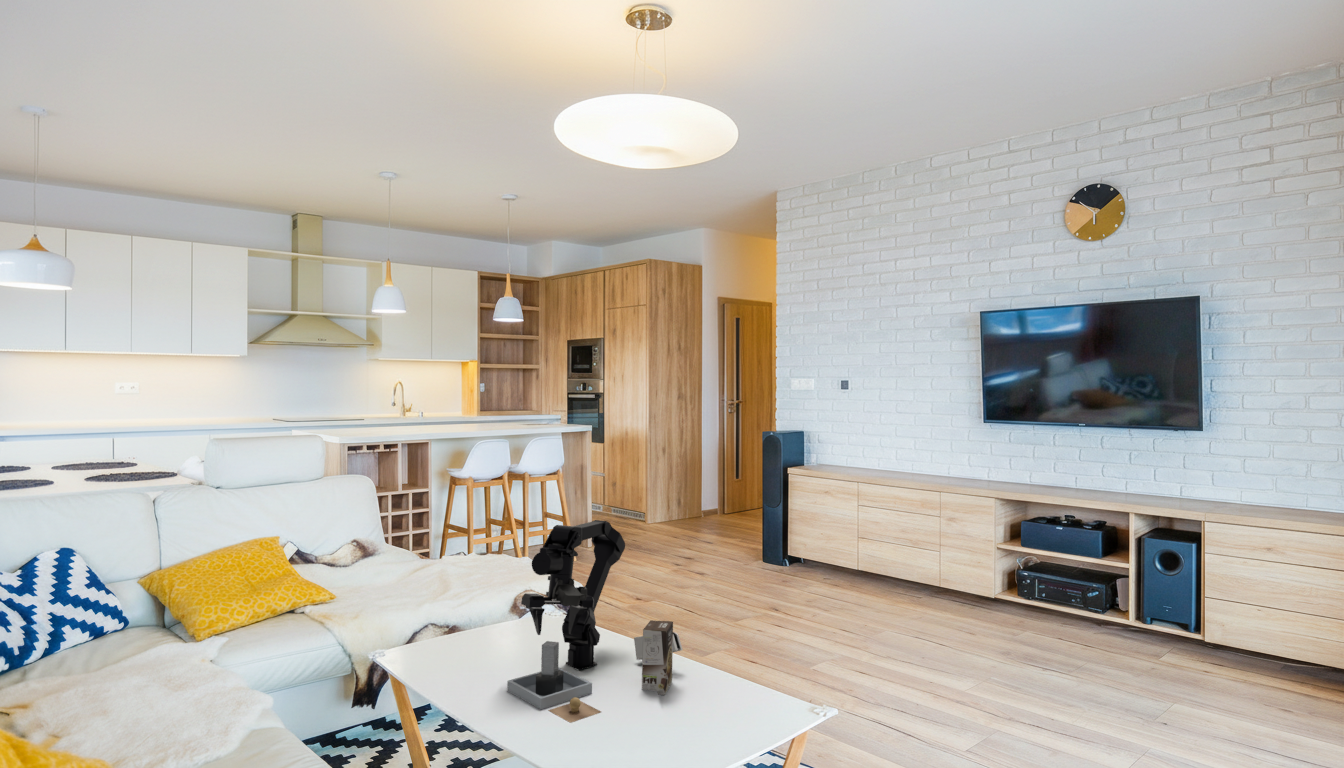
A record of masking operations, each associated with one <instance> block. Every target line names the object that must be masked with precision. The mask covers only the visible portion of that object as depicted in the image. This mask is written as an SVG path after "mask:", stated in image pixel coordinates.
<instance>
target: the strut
mask: <svg viewBox="0 0 1344 768" xmlns="http://www.w3.org/2000/svg"><path fill="white" fill-rule="evenodd" d="M559 644H560V642H559V641H549V640H547V641H545V642H544V643H542V644H541V664H540V665H541V670H540V671H539V672H540V673H539V674H538V675H537V676H536V694H538V695H541V696H547V695H550V694H553V693H556V692H560V691H562V690H563V671H560V670H558V667H559V654H560V653H559V652H560V651H559V650H560V645H559Z"/></svg>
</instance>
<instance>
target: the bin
mask: <svg viewBox="0 0 1344 768" xmlns="http://www.w3.org/2000/svg"><path fill="white" fill-rule="evenodd" d="M558 670H560V671H563V690H562V691H560V692H556V693H553V694H550V695H547V696H541V695H538V694H536V676H537V675H538V674H539V673H540V672H541V671H537V672H534V673H529V674H527V675H523V676H520V677H515V678H513V679H509V680H507V684H506V685H507V686H506V690H507V692H508V693H510V694H512V695H514V696H516V697H517V698H519V699H520V700H523V701H524V702H526V703H529V704H530V705H532V706H534V707H535V708H537V709H538V710H544V709H547V708H551V707H554V706H558V705H560V704H562V703H566V702H570V700H571V699H572V698H574V697H576V698H579V699H580V698H581V697H582V698H583V697H585V696H589V695H592V694H593V692H592V691H593V683H592V682H591V681H589V680H586V679H584V678H582V677H580V676H578V675H576V674H573V673H572V672H569V671H568V670H565V669H563V668H561V667H559V666H558Z"/></svg>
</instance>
